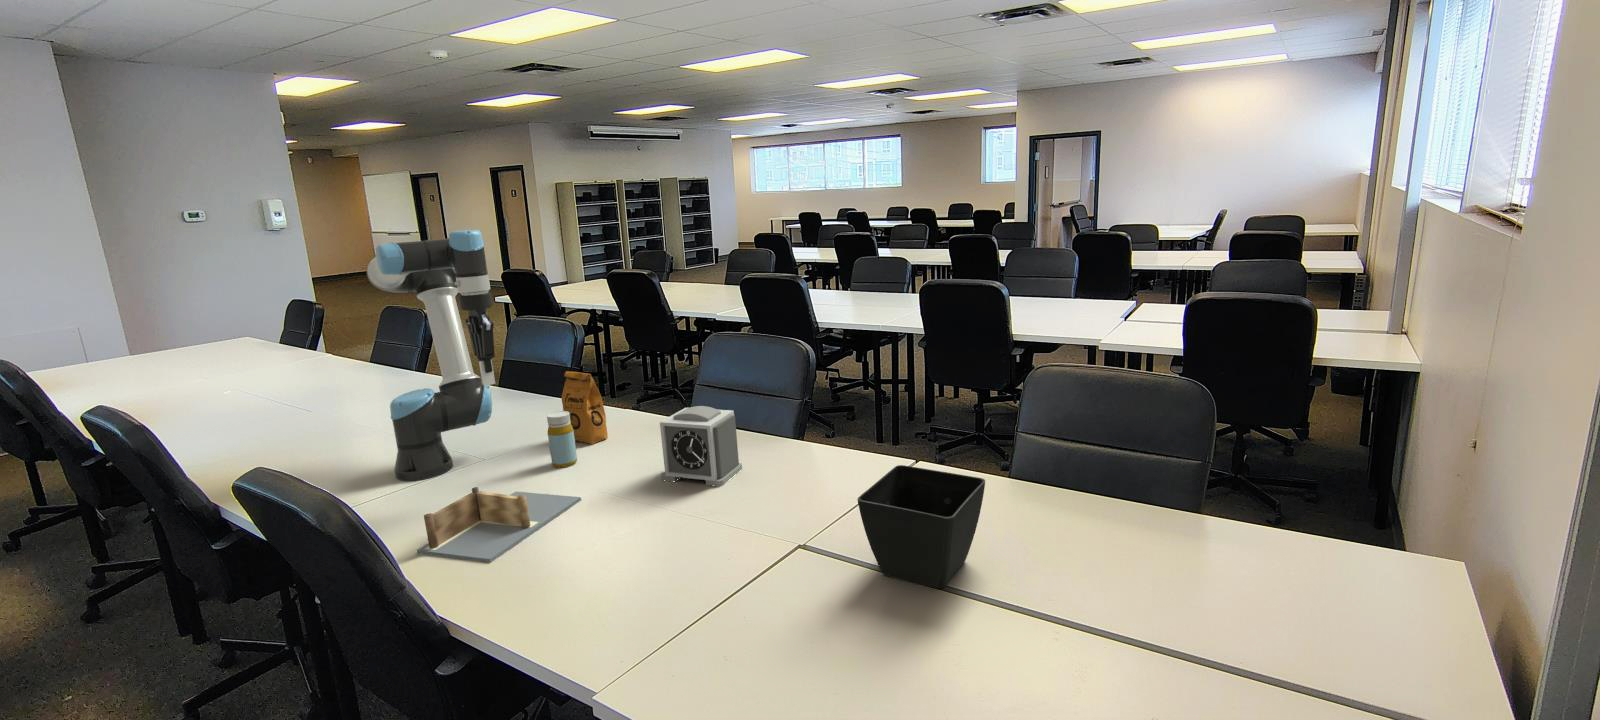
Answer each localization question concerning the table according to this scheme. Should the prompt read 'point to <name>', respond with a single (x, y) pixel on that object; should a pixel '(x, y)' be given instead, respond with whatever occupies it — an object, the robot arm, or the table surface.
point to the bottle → (561, 439)
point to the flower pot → (921, 522)
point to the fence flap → (503, 508)
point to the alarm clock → (700, 445)
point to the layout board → (501, 530)
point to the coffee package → (584, 407)
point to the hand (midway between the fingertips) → (488, 384)
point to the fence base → (452, 519)
